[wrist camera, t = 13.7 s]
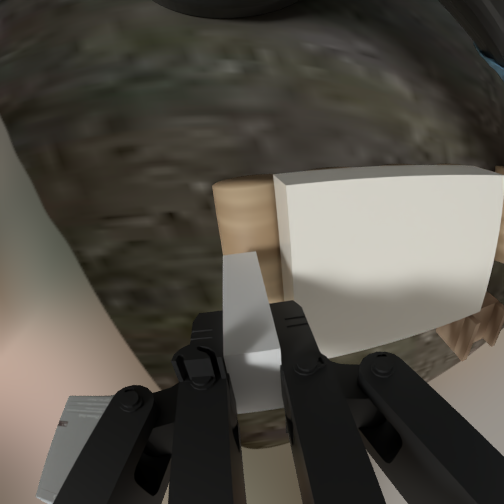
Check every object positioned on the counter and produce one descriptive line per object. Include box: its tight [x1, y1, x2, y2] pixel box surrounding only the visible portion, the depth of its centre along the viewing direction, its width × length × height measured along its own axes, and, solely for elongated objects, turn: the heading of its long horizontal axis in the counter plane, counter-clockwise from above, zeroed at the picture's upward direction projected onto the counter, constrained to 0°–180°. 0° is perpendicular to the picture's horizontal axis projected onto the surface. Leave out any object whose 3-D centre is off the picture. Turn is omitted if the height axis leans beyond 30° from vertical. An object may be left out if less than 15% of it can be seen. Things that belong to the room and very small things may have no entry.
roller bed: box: [212, 164, 464, 304], centre depth 19 cm, size 8×30×7 cm, turn 97°
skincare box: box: [36, 395, 114, 504], centre depth 22 cm, size 8×7×16 cm
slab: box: [273, 165, 504, 358], centre depth 14 cm, size 9×13×3 cm
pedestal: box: [436, 291, 504, 361], centre depth 25 cm, size 5×6×6 cm
